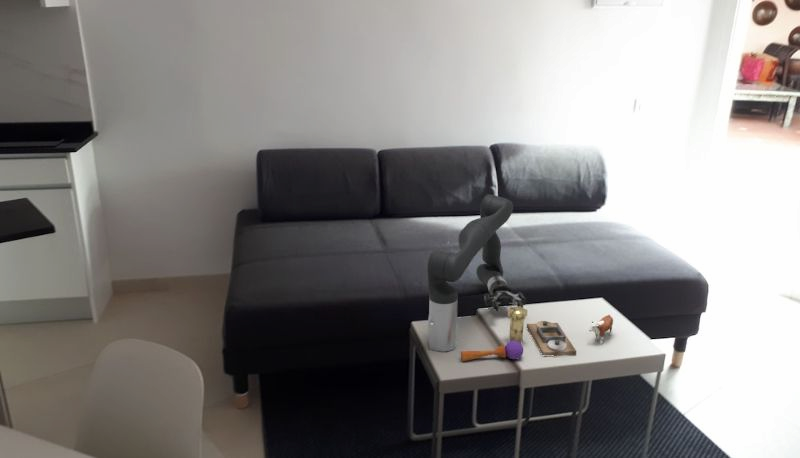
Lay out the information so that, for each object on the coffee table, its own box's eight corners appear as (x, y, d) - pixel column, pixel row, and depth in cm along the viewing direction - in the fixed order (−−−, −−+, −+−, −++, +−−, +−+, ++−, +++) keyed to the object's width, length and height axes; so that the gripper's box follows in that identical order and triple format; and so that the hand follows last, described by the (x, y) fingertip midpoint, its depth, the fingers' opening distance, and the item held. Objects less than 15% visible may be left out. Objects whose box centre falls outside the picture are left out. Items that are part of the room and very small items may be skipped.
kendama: (459, 344, 204) (519, 337, 205) (461, 361, 204) (521, 354, 206) (463, 350, 198) (524, 342, 199) (464, 368, 199) (526, 360, 200)
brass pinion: (508, 346, 210) (510, 314, 206) (504, 338, 215) (505, 306, 211) (527, 346, 210) (529, 313, 206) (522, 337, 216) (524, 305, 212)
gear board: (542, 356, 204) (543, 346, 202) (526, 327, 222) (527, 318, 221) (576, 355, 204) (577, 345, 203) (557, 326, 223) (557, 317, 222)
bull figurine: (584, 344, 211) (586, 322, 209) (604, 330, 220) (606, 309, 218) (596, 348, 208) (599, 326, 206) (615, 334, 217) (618, 313, 215)
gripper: (480, 280, 234) (489, 299, 219) (518, 279, 235) (529, 297, 220) (479, 298, 237) (488, 318, 222) (517, 297, 238) (528, 317, 223)
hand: (509, 308), depth 221 cm, fingers open, 8 cm apart
